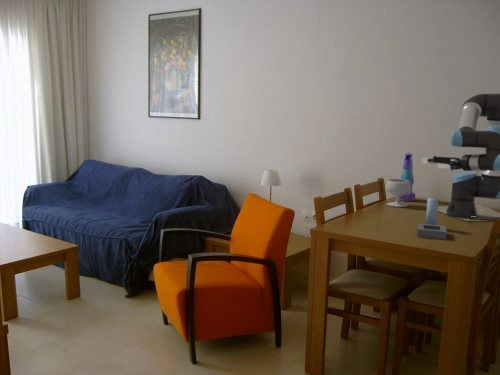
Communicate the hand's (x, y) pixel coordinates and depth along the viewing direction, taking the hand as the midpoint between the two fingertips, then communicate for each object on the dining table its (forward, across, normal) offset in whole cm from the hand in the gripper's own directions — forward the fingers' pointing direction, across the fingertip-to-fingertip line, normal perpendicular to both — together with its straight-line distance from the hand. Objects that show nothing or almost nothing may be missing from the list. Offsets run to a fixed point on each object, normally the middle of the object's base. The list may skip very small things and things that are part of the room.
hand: (430, 163), depth 234 cm
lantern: (+47, +50, -13) cm, 69 cm away
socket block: (-12, -11, -35) cm, 39 cm away
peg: (-3, +1, -31) cm, 32 cm away
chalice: (+39, +31, -19) cm, 53 cm away
